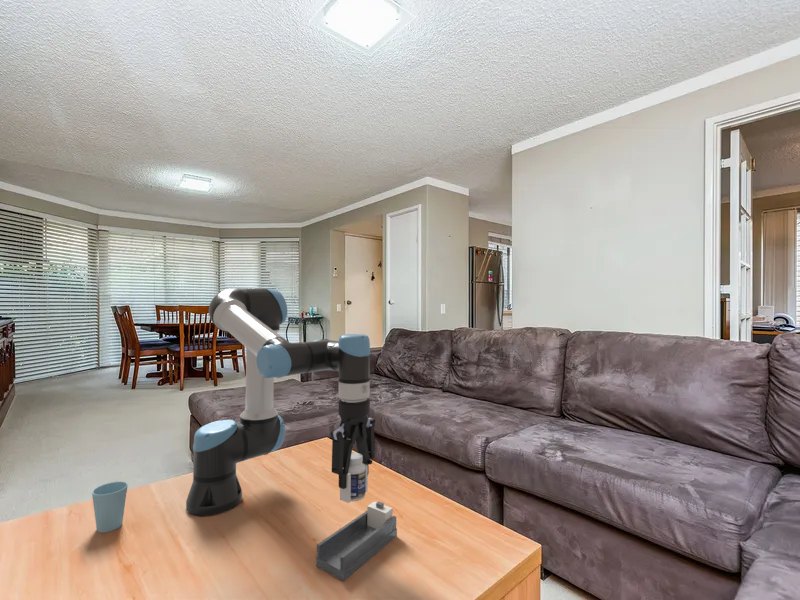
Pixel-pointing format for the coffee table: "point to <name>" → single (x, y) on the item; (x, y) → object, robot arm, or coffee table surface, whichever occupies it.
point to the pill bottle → (357, 477)
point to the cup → (109, 505)
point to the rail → (353, 546)
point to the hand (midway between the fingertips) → (354, 495)
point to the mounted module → (378, 514)
